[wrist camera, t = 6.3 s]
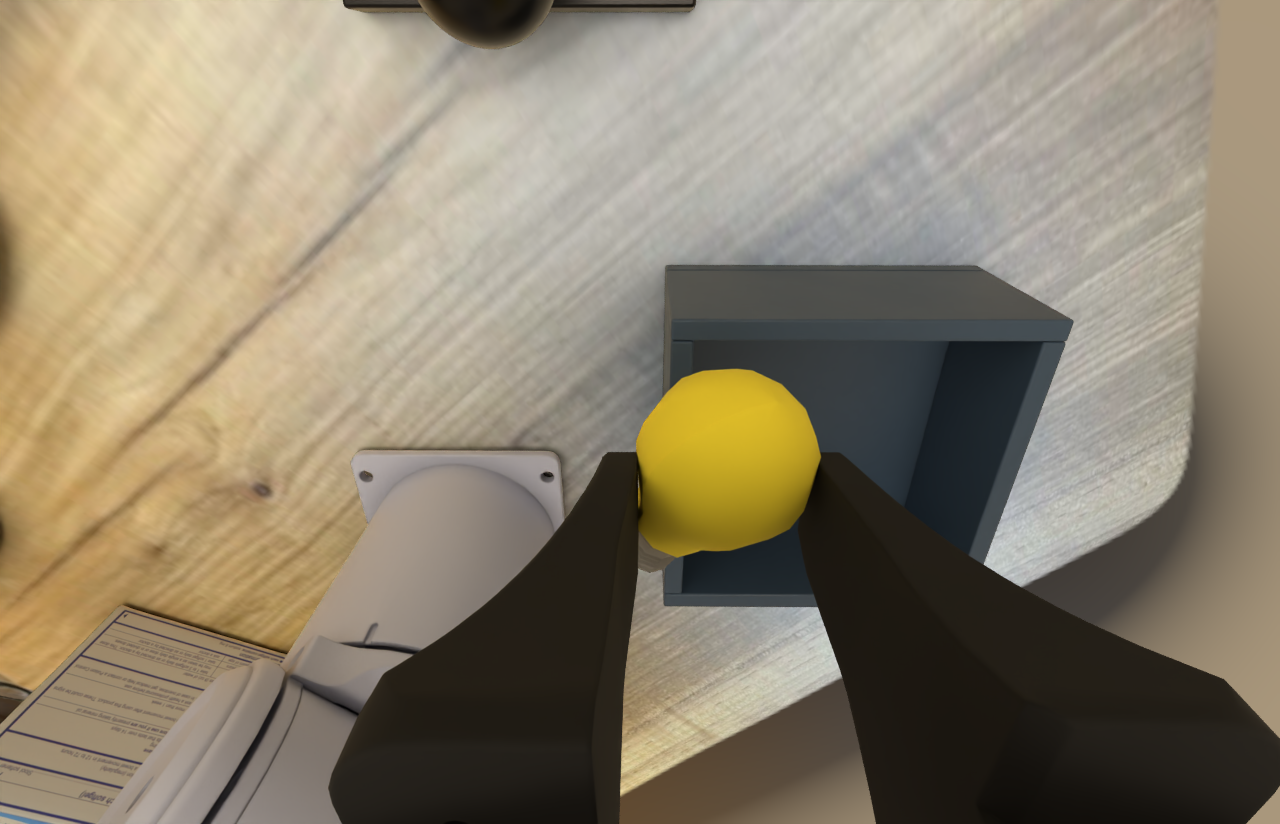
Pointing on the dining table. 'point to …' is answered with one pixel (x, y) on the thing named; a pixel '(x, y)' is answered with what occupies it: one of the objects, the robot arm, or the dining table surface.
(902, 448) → the bin
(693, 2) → the bracket
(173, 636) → the medicine box
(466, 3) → the lever
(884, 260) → the dining table surface
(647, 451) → the light bulb
